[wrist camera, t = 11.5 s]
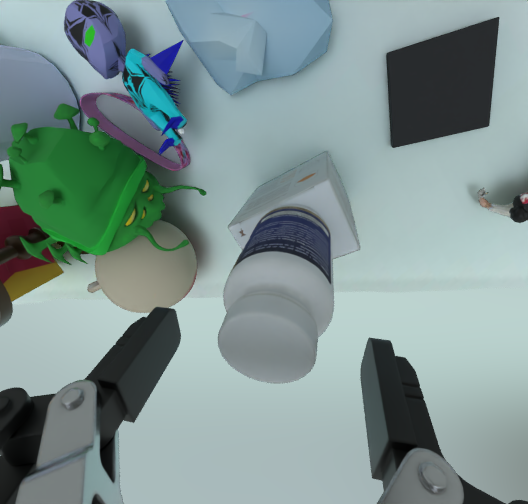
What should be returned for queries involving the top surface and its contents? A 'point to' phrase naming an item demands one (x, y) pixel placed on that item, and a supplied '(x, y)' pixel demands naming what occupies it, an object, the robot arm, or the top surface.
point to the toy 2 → (147, 271)
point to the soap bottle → (30, 94)
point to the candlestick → (14, 248)
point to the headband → (91, 110)
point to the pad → (442, 84)
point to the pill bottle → (279, 296)
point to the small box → (304, 203)
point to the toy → (23, 271)
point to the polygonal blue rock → (253, 36)
